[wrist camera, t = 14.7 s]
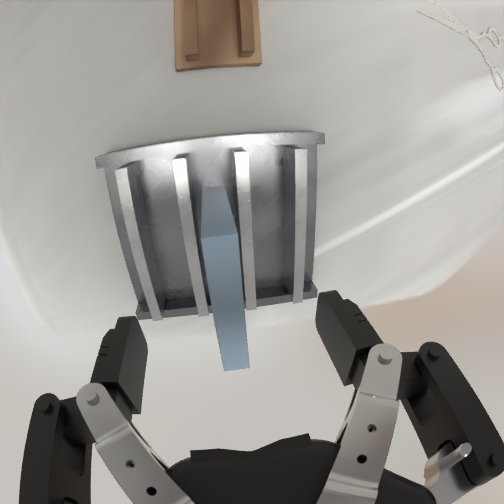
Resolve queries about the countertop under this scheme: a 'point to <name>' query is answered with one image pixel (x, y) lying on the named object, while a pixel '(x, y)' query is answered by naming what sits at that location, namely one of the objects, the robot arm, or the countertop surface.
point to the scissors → (471, 37)
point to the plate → (224, 277)
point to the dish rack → (190, 210)
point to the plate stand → (216, 34)
